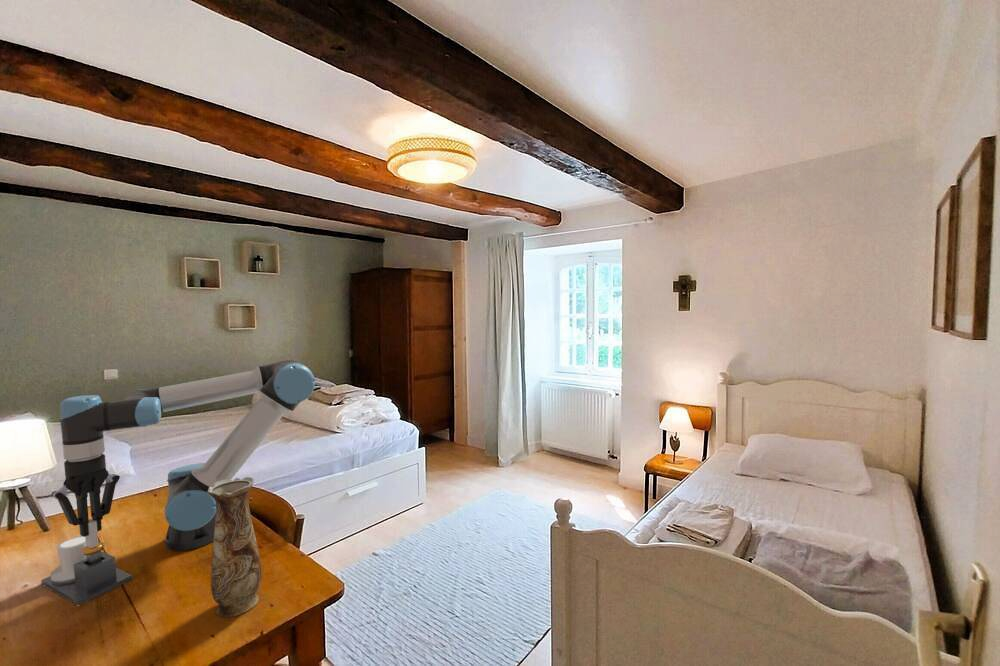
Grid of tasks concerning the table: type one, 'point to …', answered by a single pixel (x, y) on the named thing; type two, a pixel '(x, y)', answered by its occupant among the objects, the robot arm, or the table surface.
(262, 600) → the table surface
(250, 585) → the vase
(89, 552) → the gold capped peg
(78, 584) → the slotted base stand
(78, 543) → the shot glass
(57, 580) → the grey rounded flat piece
